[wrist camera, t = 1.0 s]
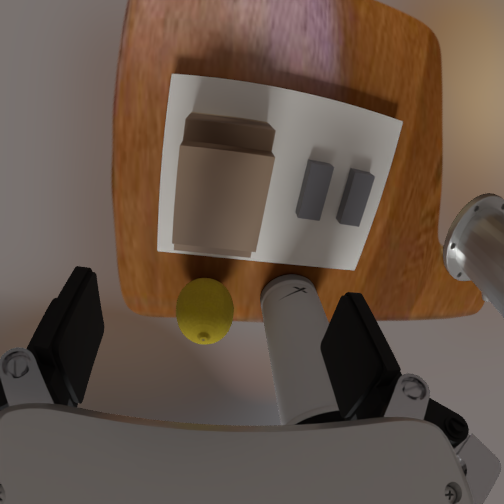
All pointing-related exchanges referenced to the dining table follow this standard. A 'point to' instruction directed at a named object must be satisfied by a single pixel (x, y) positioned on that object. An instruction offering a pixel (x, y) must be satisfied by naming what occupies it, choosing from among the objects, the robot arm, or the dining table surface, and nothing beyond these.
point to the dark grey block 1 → (314, 190)
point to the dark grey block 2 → (355, 197)
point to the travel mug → (298, 351)
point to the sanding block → (222, 184)
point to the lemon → (204, 311)
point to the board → (288, 164)
